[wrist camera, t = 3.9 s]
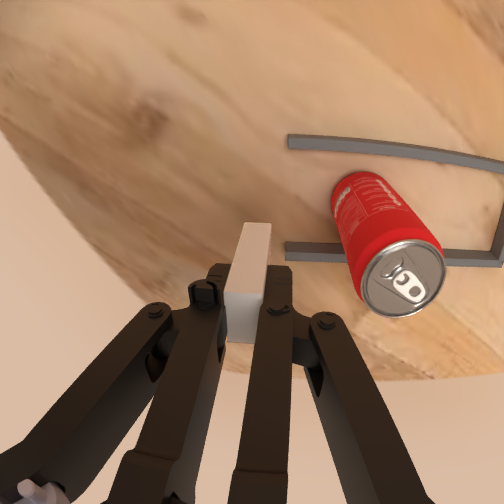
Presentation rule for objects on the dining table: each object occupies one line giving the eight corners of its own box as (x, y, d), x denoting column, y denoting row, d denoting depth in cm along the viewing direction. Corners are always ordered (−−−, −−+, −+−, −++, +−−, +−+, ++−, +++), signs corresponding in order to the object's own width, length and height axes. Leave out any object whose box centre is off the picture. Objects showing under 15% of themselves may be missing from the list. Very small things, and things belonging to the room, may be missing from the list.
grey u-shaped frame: (285, 249, 28) (284, 260, 27) (288, 134, 23) (288, 137, 22) (493, 258, 26) (501, 267, 24) (517, 165, 21) (527, 170, 19)
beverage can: (360, 154, 23) (414, 213, 13) (401, 197, 24) (465, 276, 14) (316, 200, 26) (334, 287, 15) (359, 238, 27) (394, 335, 16)
